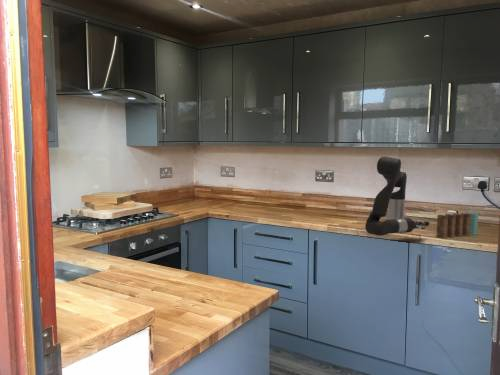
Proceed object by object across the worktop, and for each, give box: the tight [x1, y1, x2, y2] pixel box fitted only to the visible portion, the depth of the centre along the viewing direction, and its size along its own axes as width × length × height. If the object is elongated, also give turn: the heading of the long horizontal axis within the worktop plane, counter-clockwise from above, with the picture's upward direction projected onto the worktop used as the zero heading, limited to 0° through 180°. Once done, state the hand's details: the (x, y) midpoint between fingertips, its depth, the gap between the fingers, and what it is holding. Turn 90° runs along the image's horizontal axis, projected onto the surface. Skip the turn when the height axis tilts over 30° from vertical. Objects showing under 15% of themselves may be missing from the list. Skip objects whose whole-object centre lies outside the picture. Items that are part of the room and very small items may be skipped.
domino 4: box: [459, 212, 471, 237], centre depth 229 cm, size 5×2×12 cm, turn 22°
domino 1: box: [436, 213, 448, 239], centre depth 223 cm, size 5×2×12 cm, turn 22°
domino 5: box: [467, 211, 479, 236], centre depth 231 cm, size 5×2×12 cm, turn 22°
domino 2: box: [444, 213, 456, 239], centre depth 225 cm, size 5×2×12 cm, turn 22°
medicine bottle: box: [446, 209, 459, 215], centre depth 240 cm, size 7×7×12 cm
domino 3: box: [453, 213, 463, 238], centre depth 227 cm, size 5×2×12 cm, turn 22°
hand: (428, 223), depth 219 cm, fingers closed
